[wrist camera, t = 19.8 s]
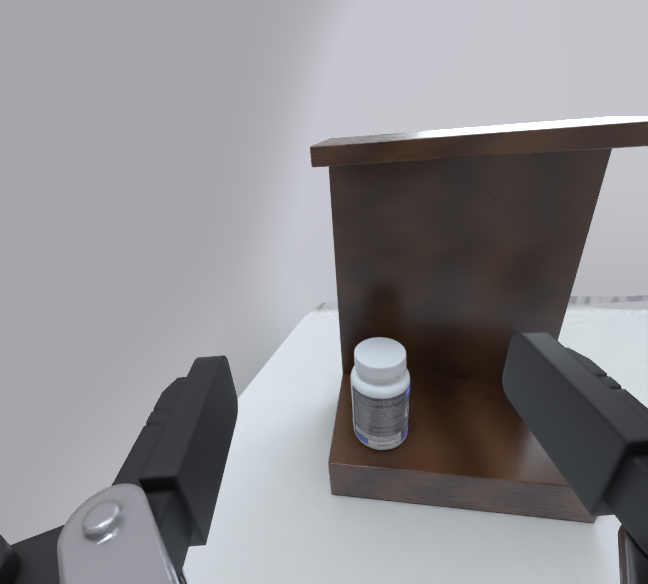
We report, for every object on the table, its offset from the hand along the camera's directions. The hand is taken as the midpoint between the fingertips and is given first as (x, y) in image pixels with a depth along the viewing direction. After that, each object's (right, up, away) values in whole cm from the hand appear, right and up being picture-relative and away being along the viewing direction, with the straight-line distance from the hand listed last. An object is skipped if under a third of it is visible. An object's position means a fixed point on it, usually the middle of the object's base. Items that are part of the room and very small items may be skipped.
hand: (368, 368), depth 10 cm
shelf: (+10, -12, +23) cm, 28 cm away
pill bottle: (+4, -10, +20) cm, 23 cm away
